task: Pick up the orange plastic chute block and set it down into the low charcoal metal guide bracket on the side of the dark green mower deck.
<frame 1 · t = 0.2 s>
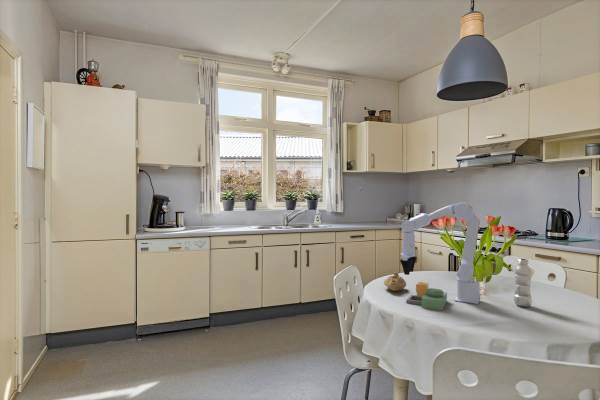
hand: (408, 273, 173), 10 cm above the table, tool pointing down, fingers open, 7 cm apart
oil lamp: (395, 290, 179), on the table
plastic bottle: (522, 306, 153), on the table
mower deck: (434, 304, 156), on the table
chute block: (422, 296, 168), on the table
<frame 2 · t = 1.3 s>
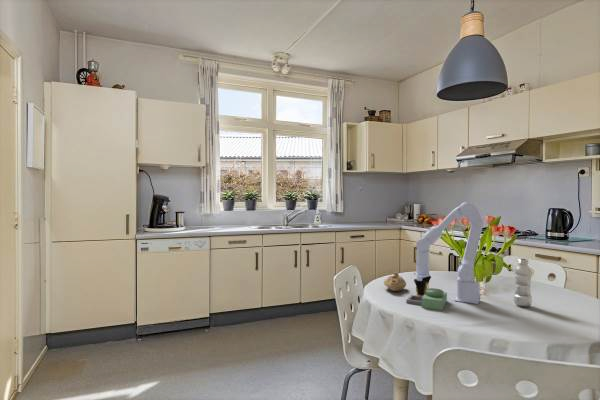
hand: (422, 293, 168), 1 cm above the table, tool pointing down, fingers open, 7 cm apart
nothing on the table moved.
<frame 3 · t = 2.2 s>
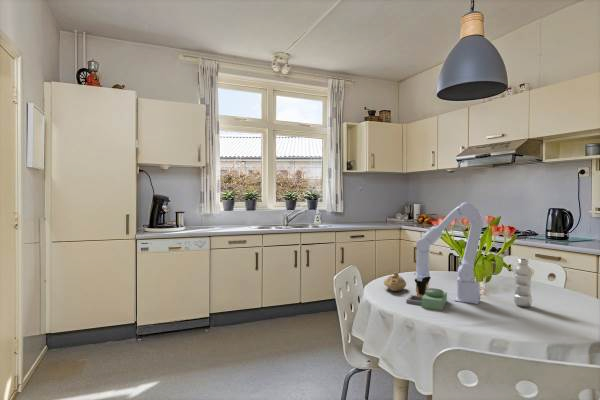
hand: (422, 293, 168), 1 cm above the table, tool pointing down, fingers closed on chute block, 4 cm apart
chute block: (422, 296, 168), on the table, touching gripper
everything else where it was.
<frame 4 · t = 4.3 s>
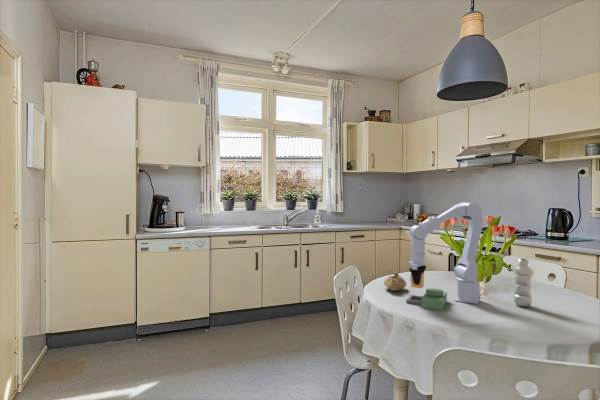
hand: (418, 283, 159), 8 cm above the table, tool pointing down, fingers closed on chute block, 4 cm apart
chute block: (417, 286, 160), point 7 cm above the table, touching gripper
everything else where it was.
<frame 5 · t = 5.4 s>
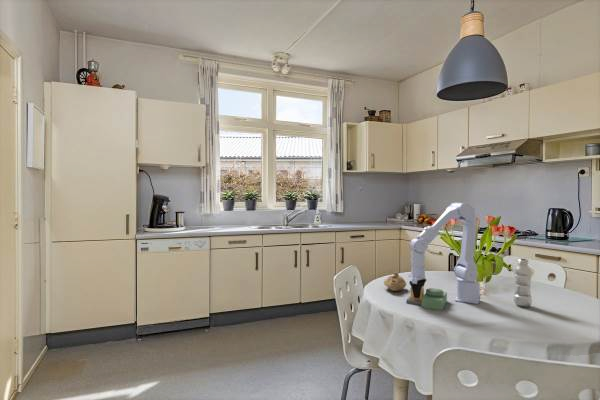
hand: (417, 296, 160), 2 cm above the table, tool pointing down, fingers closed on chute block, 4 cm apart
chute block: (417, 299, 160), point 1 cm above the table, touching gripper
everything else where it was.
when the fingers open (2 cm above the table, at t = 6.3 s): chute block stays where it is, resting in mower deck.
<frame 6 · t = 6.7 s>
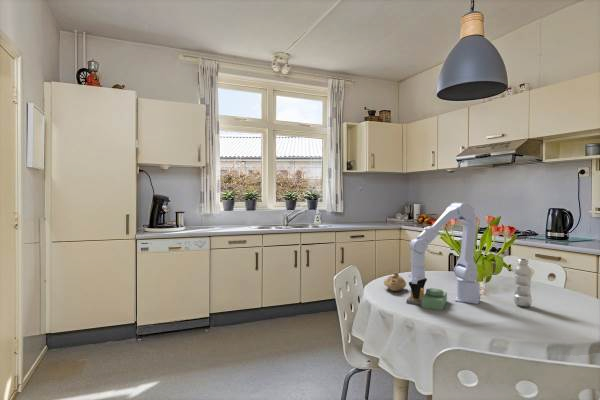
hand: (417, 296, 160), 2 cm above the table, tool pointing down, fingers open, 7 cm apart
chute block: (417, 301, 160), resting in mower deck
everything else where it was.
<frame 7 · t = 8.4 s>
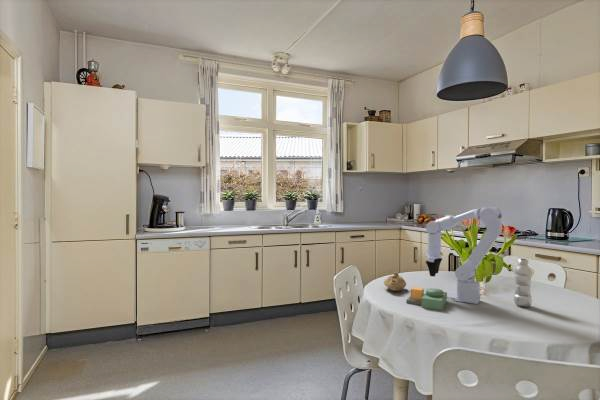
hand: (434, 274, 171), 9 cm above the table, tool pointing down, fingers open, 7 cm apart
nothing on the table moved.
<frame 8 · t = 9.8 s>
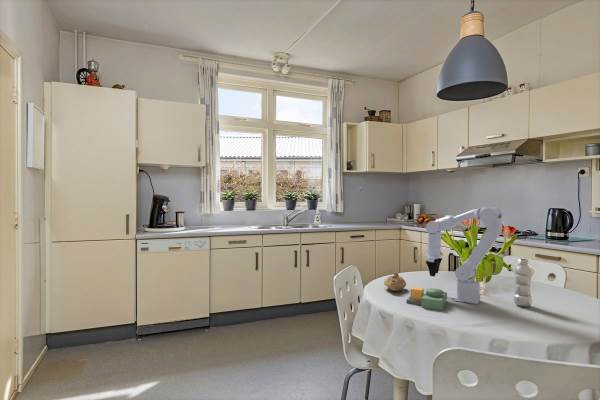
hand: (434, 274, 171), 9 cm above the table, tool pointing down, fingers open, 7 cm apart
nothing on the table moved.
at the end: chute block 0.1 cm from the target spot on the mower deck, point 0.0 cm above the mower deck's base; chute block tilted 0°; the gripper is holding nothing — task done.
